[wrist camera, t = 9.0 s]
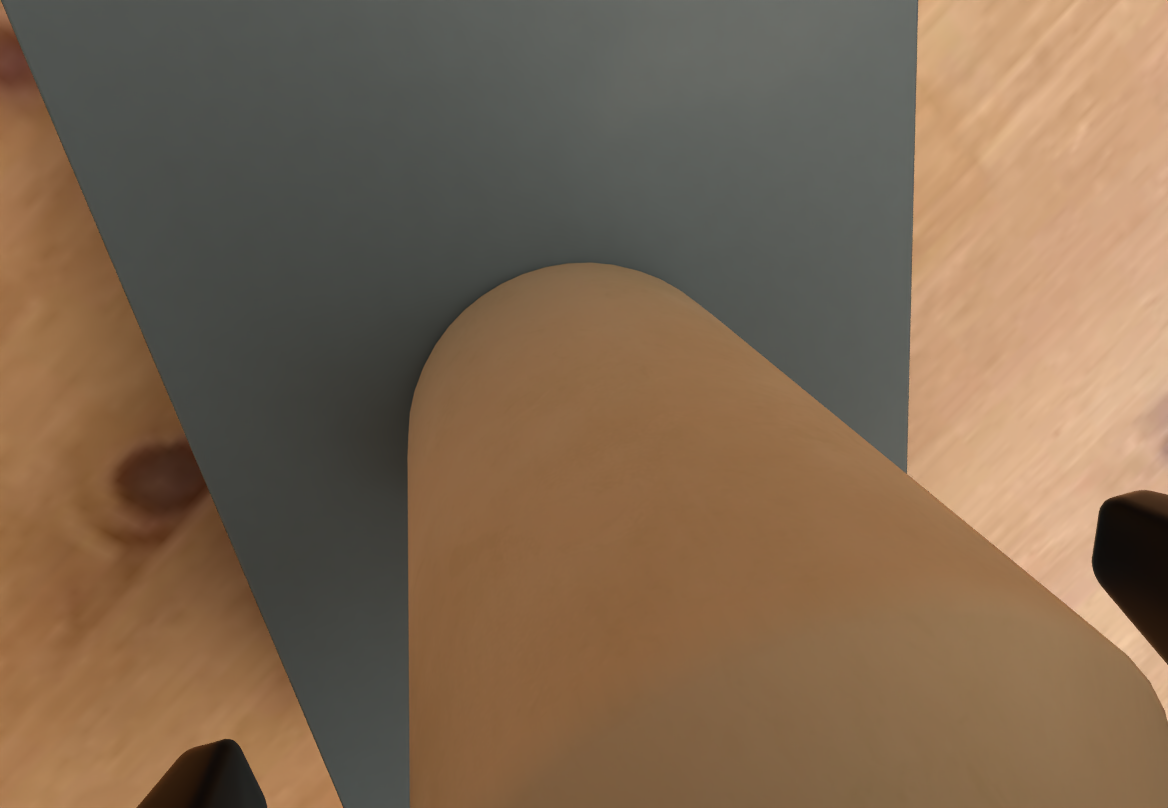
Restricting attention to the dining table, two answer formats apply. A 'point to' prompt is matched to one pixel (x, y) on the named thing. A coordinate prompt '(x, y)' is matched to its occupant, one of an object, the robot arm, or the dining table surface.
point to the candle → (718, 589)
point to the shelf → (461, 243)
